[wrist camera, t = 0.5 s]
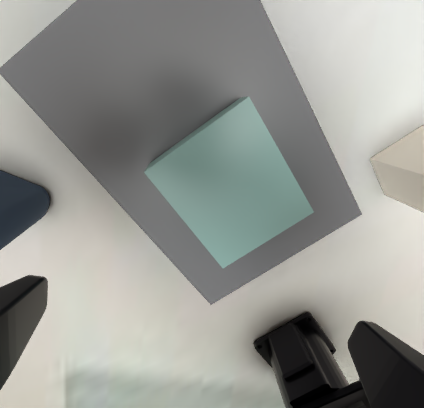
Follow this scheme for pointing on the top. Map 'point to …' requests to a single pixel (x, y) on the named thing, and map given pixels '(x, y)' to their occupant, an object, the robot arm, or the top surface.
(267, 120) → the socket
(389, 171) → the grey tall block
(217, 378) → the top surface
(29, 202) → the vaping device
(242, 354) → the top surface
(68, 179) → the top surface
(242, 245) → the teal rectangular block
